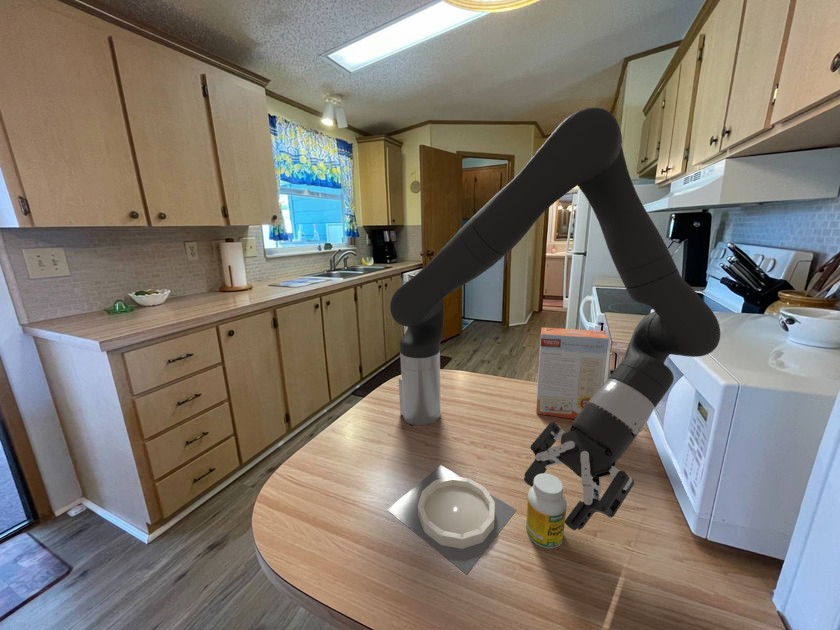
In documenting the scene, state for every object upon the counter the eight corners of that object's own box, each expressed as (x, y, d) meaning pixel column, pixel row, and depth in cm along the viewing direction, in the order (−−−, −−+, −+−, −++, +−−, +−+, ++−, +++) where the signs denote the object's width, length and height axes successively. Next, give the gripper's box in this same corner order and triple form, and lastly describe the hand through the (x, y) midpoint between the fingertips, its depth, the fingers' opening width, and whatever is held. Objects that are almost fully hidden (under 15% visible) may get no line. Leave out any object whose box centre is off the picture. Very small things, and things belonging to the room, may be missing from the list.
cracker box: (595, 410, 84) (605, 330, 78) (599, 423, 78) (610, 338, 73) (535, 402, 88) (541, 325, 83) (535, 414, 83) (541, 333, 77)
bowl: (404, 516, 55) (403, 507, 54) (449, 475, 63) (449, 467, 63) (465, 564, 47) (465, 554, 46) (508, 510, 55) (508, 501, 55)
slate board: (387, 512, 56) (386, 509, 56) (440, 467, 66) (440, 465, 66) (466, 577, 46) (466, 574, 45) (516, 512, 55) (516, 509, 55)
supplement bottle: (540, 514, 55) (544, 464, 52) (570, 538, 51) (576, 486, 48) (517, 531, 52) (521, 479, 50) (547, 558, 48) (552, 503, 45)
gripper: (564, 384, 56) (503, 463, 55) (650, 431, 43) (572, 535, 42) (585, 405, 59) (528, 480, 58) (670, 455, 46) (599, 552, 45)
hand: (547, 503), depth 50 cm, fingers open, 8 cm apart
